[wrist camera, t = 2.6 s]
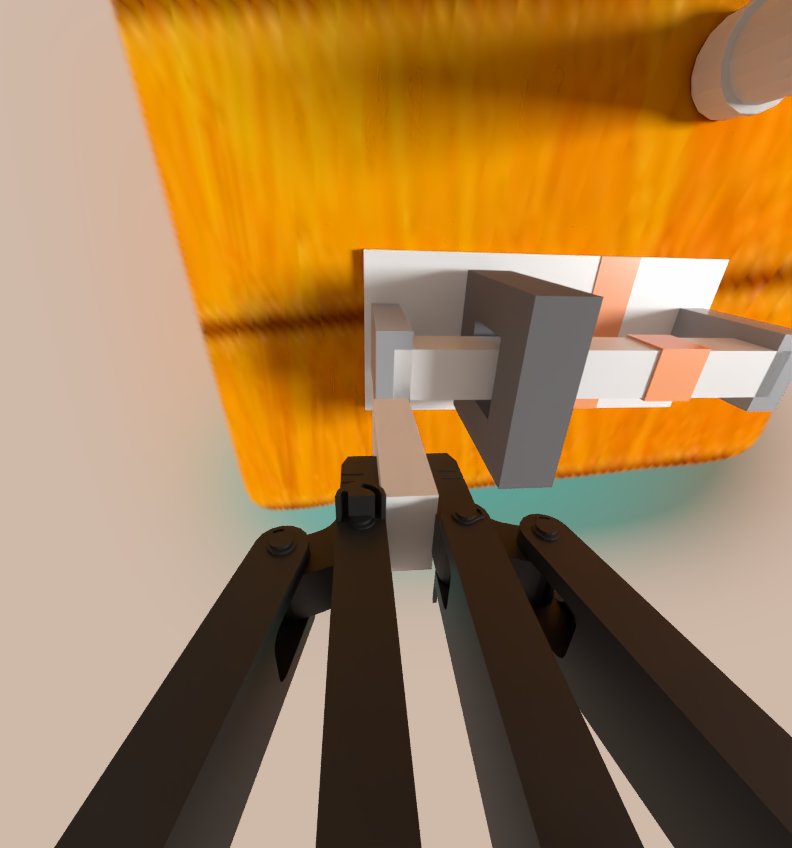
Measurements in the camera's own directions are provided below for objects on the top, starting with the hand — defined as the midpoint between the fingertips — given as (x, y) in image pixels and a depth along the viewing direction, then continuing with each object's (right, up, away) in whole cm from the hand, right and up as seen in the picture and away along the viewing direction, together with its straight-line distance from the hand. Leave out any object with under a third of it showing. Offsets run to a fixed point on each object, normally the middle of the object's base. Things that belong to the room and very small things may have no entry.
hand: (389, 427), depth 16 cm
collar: (+7, +6, +12) cm, 15 cm away
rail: (+11, +7, +14) cm, 19 cm away
